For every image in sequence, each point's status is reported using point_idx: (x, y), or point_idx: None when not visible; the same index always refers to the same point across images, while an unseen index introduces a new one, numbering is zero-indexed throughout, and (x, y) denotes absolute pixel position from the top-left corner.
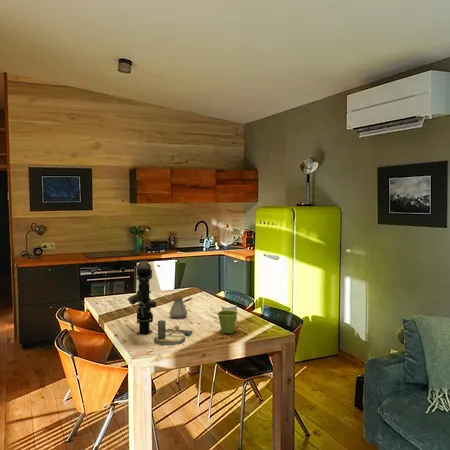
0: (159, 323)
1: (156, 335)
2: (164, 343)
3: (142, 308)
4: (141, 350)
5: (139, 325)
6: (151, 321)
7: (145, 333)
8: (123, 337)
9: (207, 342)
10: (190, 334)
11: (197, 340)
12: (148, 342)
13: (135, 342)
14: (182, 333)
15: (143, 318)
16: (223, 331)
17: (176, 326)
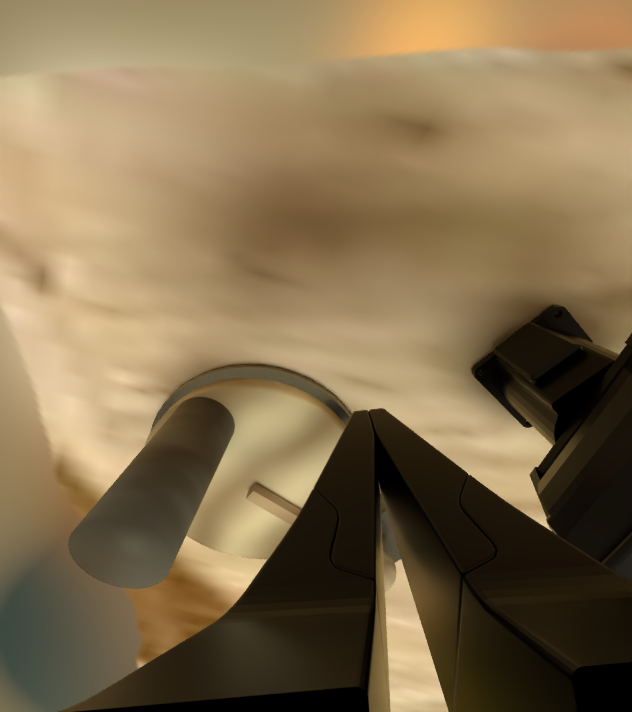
0: (91, 511)
1: (288, 409)
2: (161, 409)
3: (195, 637)
4: (69, 209)
5: (589, 349)
6: (533, 479)
7: (483, 363)
8: (526, 139)
9: (153, 587)
10: None
11: (200, 566)
12: (263, 322)
13: (306, 219)
14: (264, 555)
15: (587, 430)
16: None
17: None
